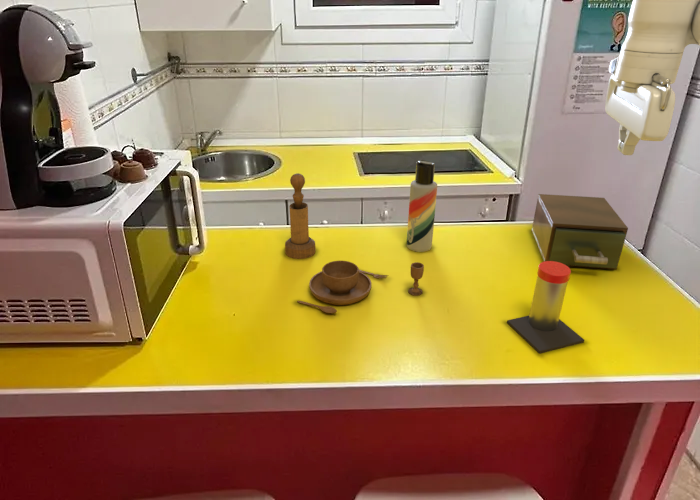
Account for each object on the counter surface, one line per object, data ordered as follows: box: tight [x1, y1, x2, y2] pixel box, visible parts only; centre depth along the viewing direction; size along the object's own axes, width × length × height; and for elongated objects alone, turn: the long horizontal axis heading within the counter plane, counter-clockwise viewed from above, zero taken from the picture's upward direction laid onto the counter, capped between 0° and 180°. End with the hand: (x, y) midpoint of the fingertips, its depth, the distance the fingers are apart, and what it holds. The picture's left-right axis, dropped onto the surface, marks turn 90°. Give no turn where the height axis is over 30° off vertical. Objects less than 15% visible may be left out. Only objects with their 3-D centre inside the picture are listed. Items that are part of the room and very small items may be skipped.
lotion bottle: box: [406, 159, 438, 253], centre depth 112 cm, size 6×6×20 cm
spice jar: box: [528, 261, 572, 331], centre depth 88 cm, size 5×5×11 cm
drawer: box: [548, 227, 627, 269], centre depth 111 cm, size 20×13×8 cm
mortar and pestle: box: [284, 172, 317, 260], centre depth 110 cm, size 7×6×18 cm
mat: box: [506, 315, 585, 355], centre depth 89 cm, size 9×9×1 cm
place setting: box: [297, 260, 425, 314], centre depth 97 cm, size 18×20×6 cm
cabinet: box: [531, 193, 629, 270], centre depth 114 cm, size 17×15×10 cm
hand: (624, 152), depth 90 cm, fingers closed
